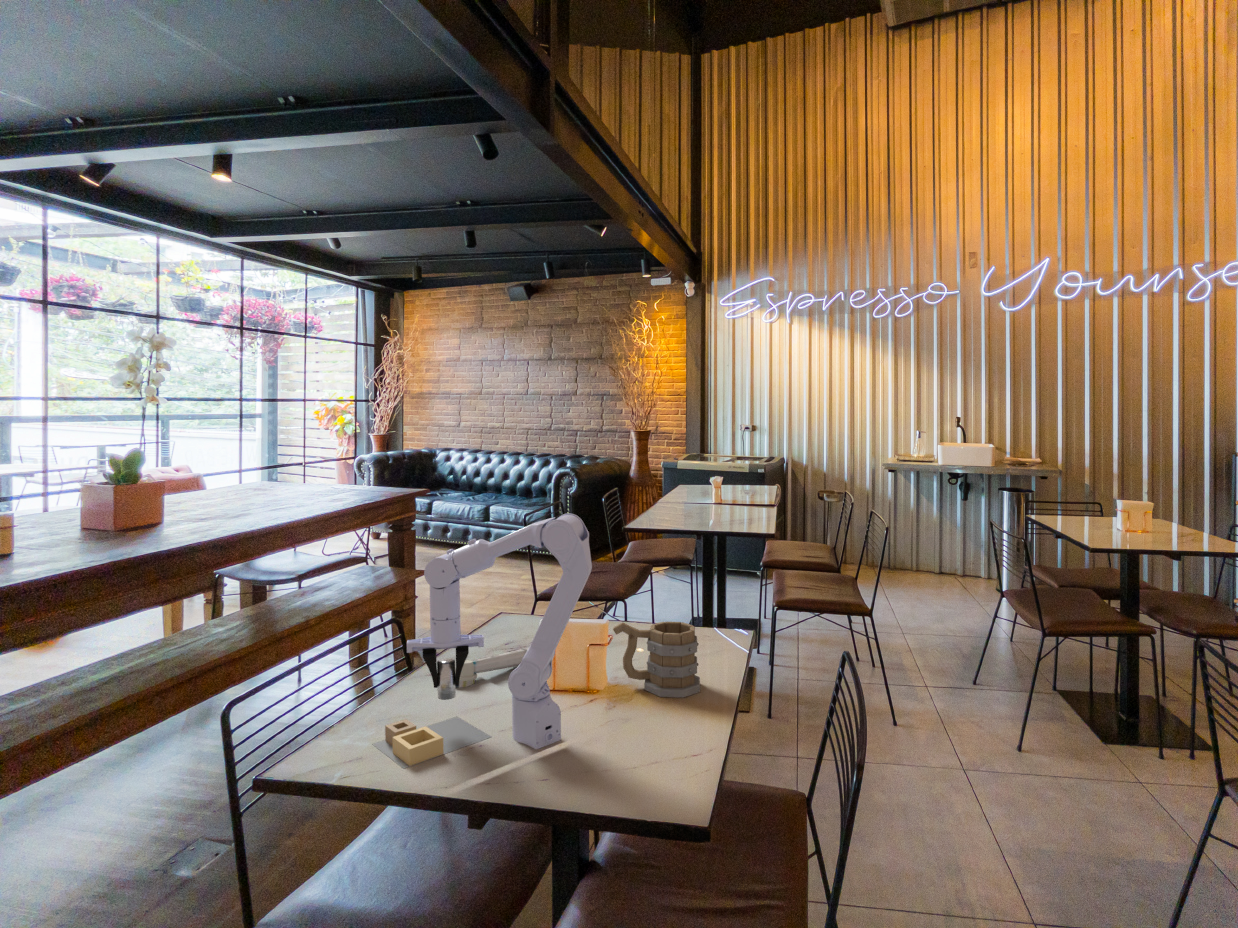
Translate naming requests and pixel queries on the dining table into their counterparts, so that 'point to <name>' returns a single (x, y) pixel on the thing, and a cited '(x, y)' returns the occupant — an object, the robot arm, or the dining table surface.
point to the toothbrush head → (489, 665)
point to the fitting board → (427, 740)
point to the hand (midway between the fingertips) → (446, 684)
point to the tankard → (665, 658)
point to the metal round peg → (446, 679)
